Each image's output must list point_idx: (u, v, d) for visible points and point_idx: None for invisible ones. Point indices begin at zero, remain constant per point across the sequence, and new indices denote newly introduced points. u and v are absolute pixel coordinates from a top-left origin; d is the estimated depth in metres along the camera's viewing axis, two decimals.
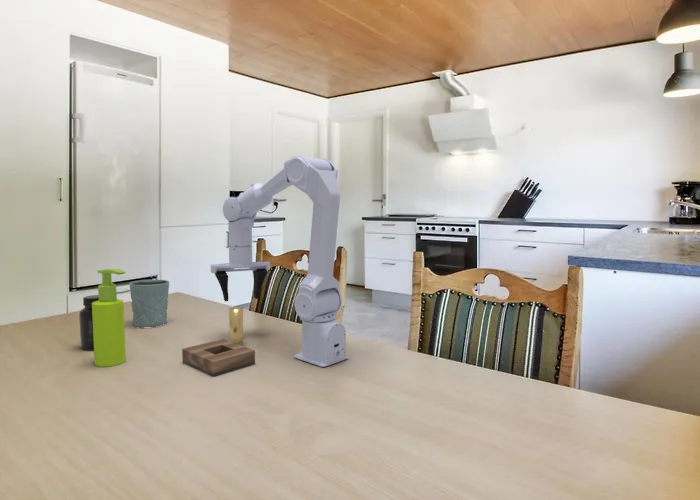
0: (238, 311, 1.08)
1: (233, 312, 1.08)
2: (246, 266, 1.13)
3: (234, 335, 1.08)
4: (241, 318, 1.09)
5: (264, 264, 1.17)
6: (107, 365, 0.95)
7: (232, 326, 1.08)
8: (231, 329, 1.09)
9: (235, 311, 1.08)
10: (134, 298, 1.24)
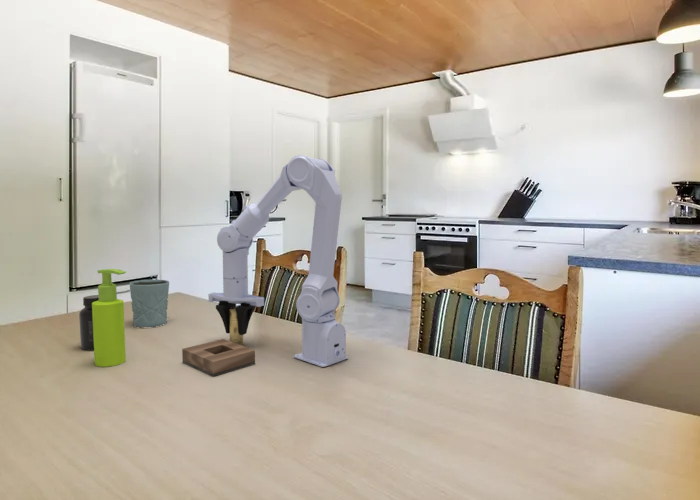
0: None
1: (233, 312, 1.08)
2: (230, 300, 1.06)
3: (234, 335, 1.08)
4: None
5: (253, 300, 1.06)
6: (107, 365, 0.95)
7: (232, 326, 1.08)
8: (231, 329, 1.09)
9: (235, 311, 1.08)
10: (134, 298, 1.24)
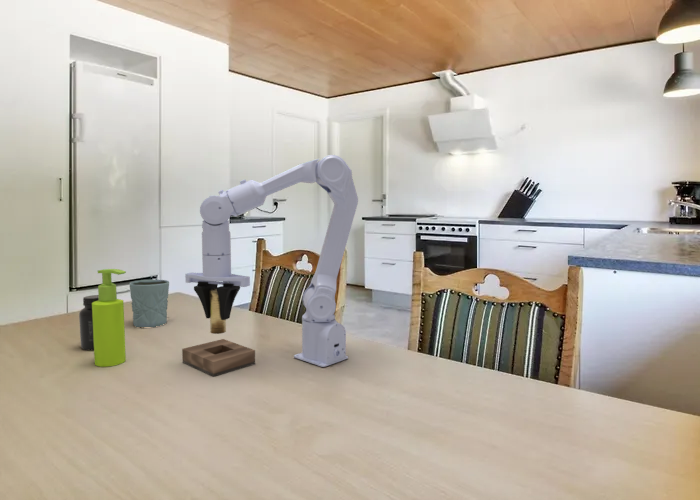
0: None
1: (214, 294, 0.95)
2: (211, 279, 0.93)
3: (216, 319, 0.95)
4: None
5: (237, 279, 0.93)
6: (107, 365, 0.95)
7: (213, 309, 0.95)
8: (212, 313, 0.95)
9: None
10: (134, 298, 1.24)
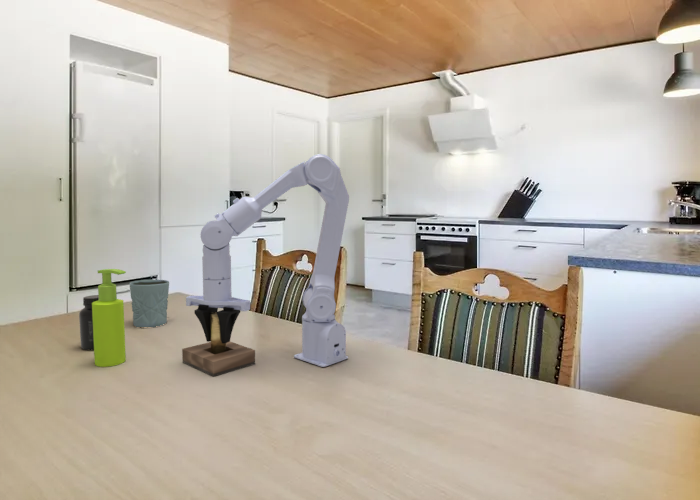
0: None
1: (215, 318, 0.95)
2: (211, 303, 0.93)
3: (217, 343, 0.96)
4: None
5: (238, 303, 0.93)
6: (107, 365, 0.95)
7: (214, 333, 0.95)
8: (213, 337, 0.96)
9: (217, 316, 0.95)
10: (134, 298, 1.24)
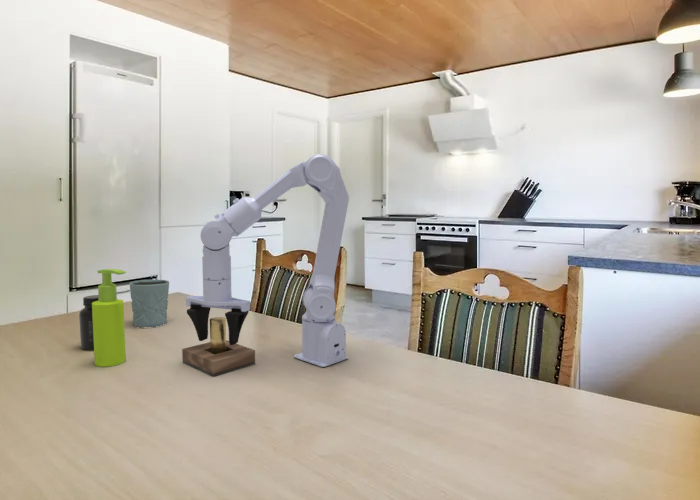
0: (220, 322, 0.96)
1: (214, 323, 0.95)
2: (211, 304, 0.93)
3: (217, 349, 0.96)
4: (224, 330, 0.96)
5: (238, 304, 0.93)
6: (107, 365, 0.95)
7: (214, 339, 0.96)
8: (212, 342, 0.96)
9: (217, 322, 0.95)
10: (134, 298, 1.24)
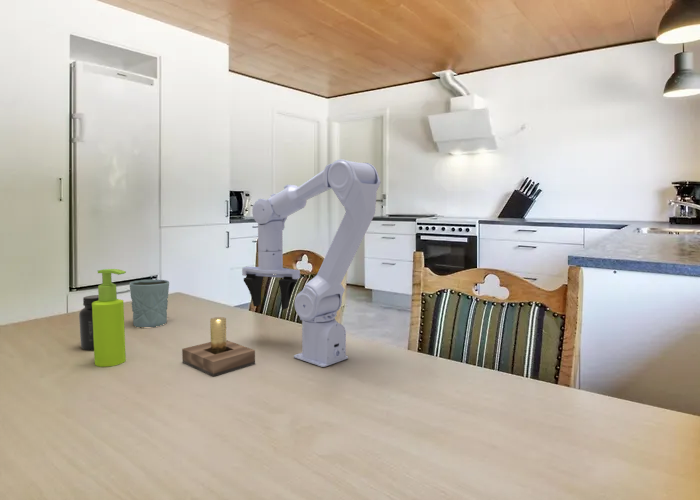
0: (221, 322, 0.95)
1: (215, 323, 0.95)
2: (266, 272, 1.06)
3: (217, 349, 0.96)
4: (224, 330, 0.96)
5: (289, 272, 1.06)
6: (107, 365, 0.95)
7: (214, 339, 0.95)
8: (213, 343, 0.96)
9: (217, 322, 0.95)
10: (134, 298, 1.24)
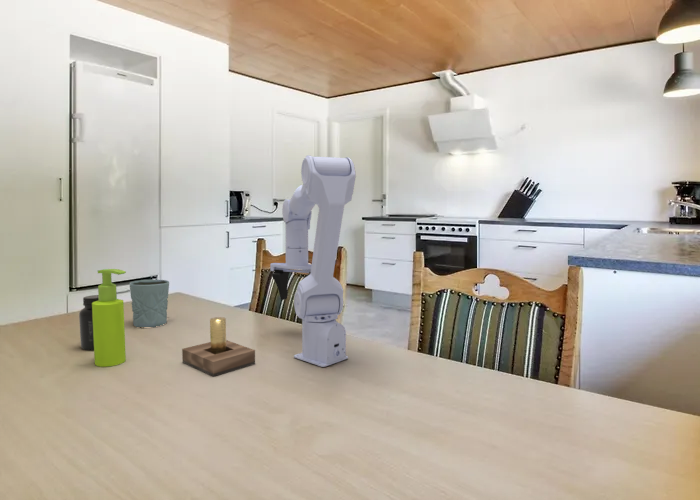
0: (220, 322, 0.95)
1: (215, 324, 0.95)
2: (293, 268, 1.13)
3: (217, 349, 0.96)
4: (224, 330, 0.96)
5: None
6: (107, 365, 0.95)
7: (214, 339, 0.95)
8: (213, 343, 0.96)
9: (217, 322, 0.95)
10: (134, 298, 1.24)
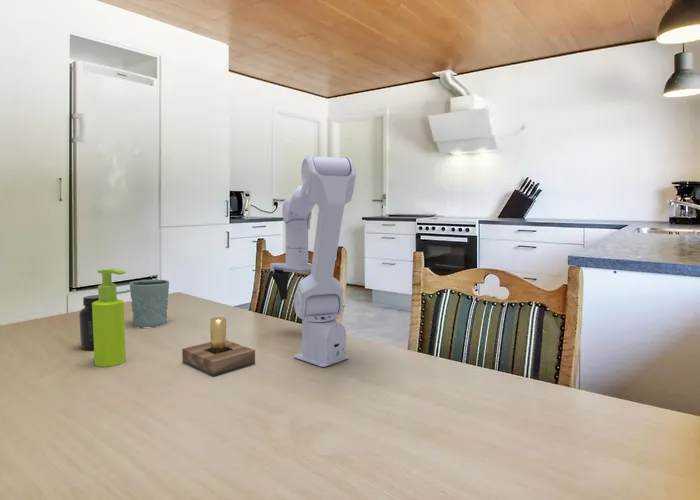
0: (221, 322, 0.95)
1: (215, 324, 0.95)
2: (293, 268, 1.13)
3: (217, 349, 0.96)
4: (224, 330, 0.96)
5: None
6: (107, 365, 0.95)
7: (214, 339, 0.95)
8: (213, 343, 0.96)
9: (217, 322, 0.95)
10: (134, 298, 1.24)
